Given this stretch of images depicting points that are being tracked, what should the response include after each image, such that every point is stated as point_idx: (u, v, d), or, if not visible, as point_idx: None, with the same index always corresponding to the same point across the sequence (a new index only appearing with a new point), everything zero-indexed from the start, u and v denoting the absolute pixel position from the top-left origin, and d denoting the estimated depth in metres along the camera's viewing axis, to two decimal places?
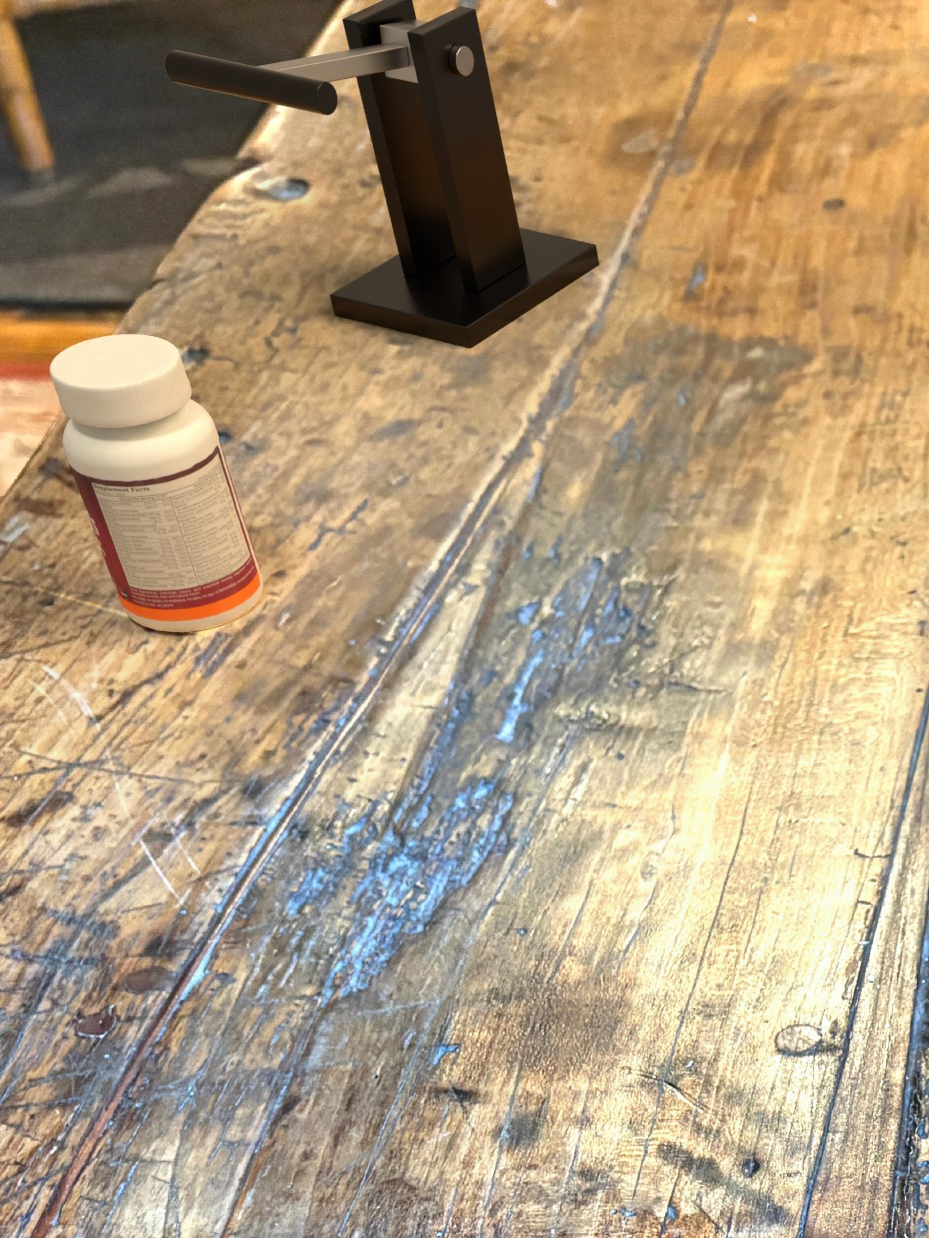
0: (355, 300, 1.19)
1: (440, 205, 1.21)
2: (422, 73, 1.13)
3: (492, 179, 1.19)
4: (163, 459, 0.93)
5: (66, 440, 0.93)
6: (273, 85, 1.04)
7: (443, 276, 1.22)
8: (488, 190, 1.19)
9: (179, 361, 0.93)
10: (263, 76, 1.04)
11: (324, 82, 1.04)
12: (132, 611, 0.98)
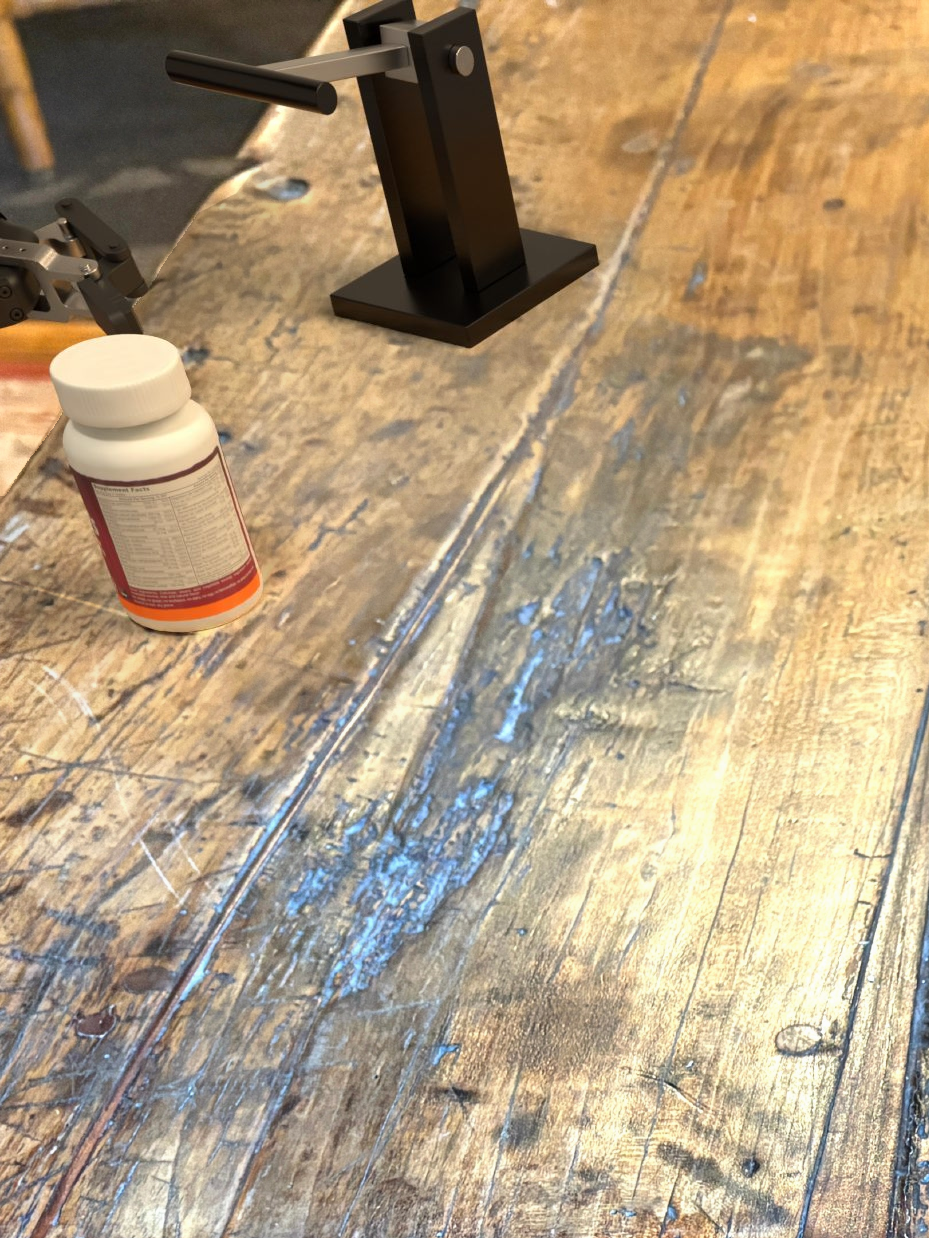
0: (355, 300, 1.19)
1: (440, 205, 1.21)
2: (422, 73, 1.13)
3: (492, 179, 1.19)
4: (163, 459, 0.93)
5: (66, 440, 0.93)
6: (273, 85, 1.04)
7: (443, 276, 1.22)
8: (488, 190, 1.19)
9: (179, 361, 0.93)
10: (263, 76, 1.04)
11: (324, 82, 1.04)
12: (132, 611, 0.98)
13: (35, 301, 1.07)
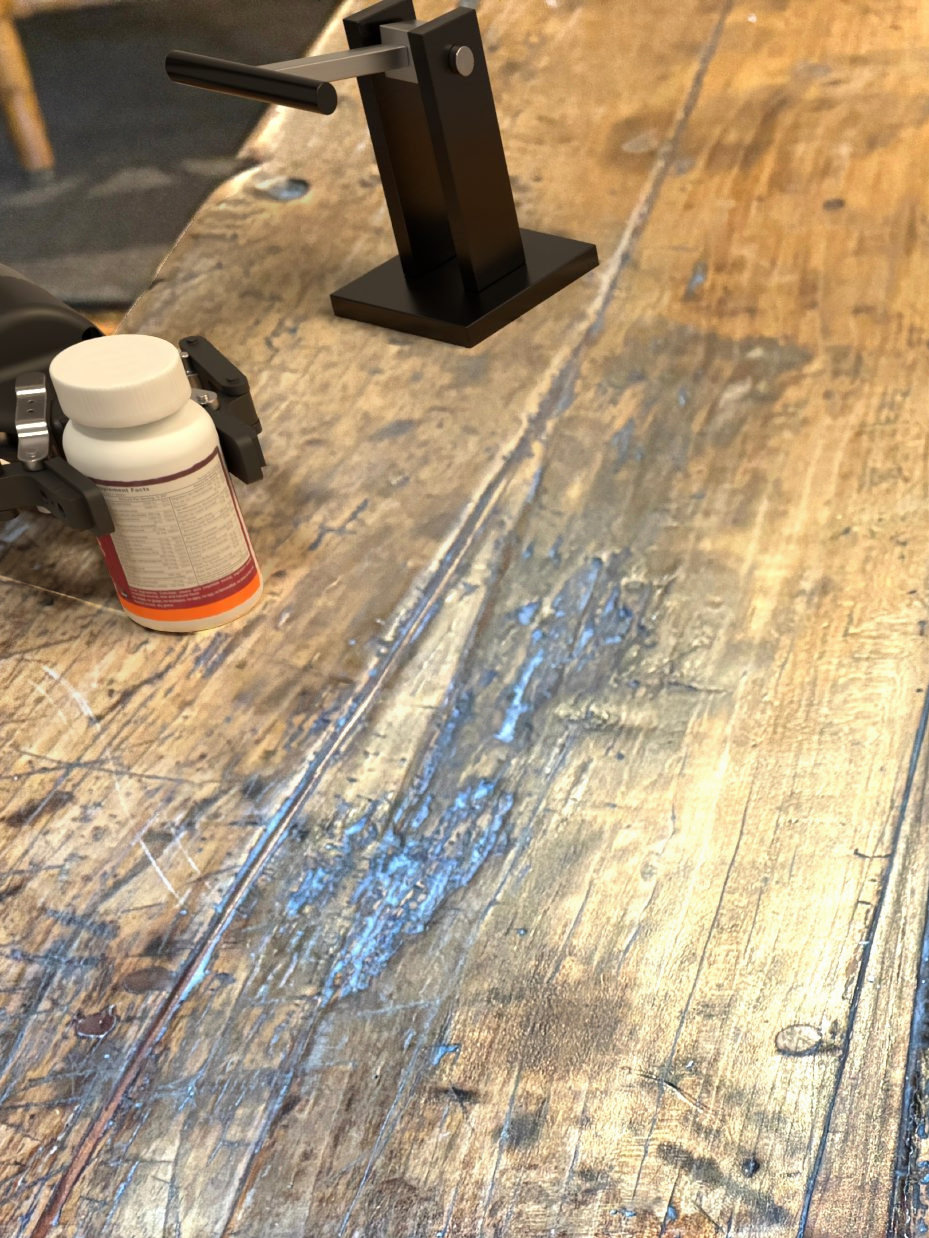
0: (355, 300, 1.19)
1: (440, 205, 1.21)
2: (422, 73, 1.13)
3: (492, 179, 1.19)
4: (163, 459, 0.93)
5: (66, 440, 0.93)
6: (273, 85, 1.04)
7: (443, 276, 1.22)
8: (488, 190, 1.19)
9: (179, 361, 0.93)
10: (263, 76, 1.04)
11: (324, 82, 1.04)
12: (132, 611, 0.98)
13: None
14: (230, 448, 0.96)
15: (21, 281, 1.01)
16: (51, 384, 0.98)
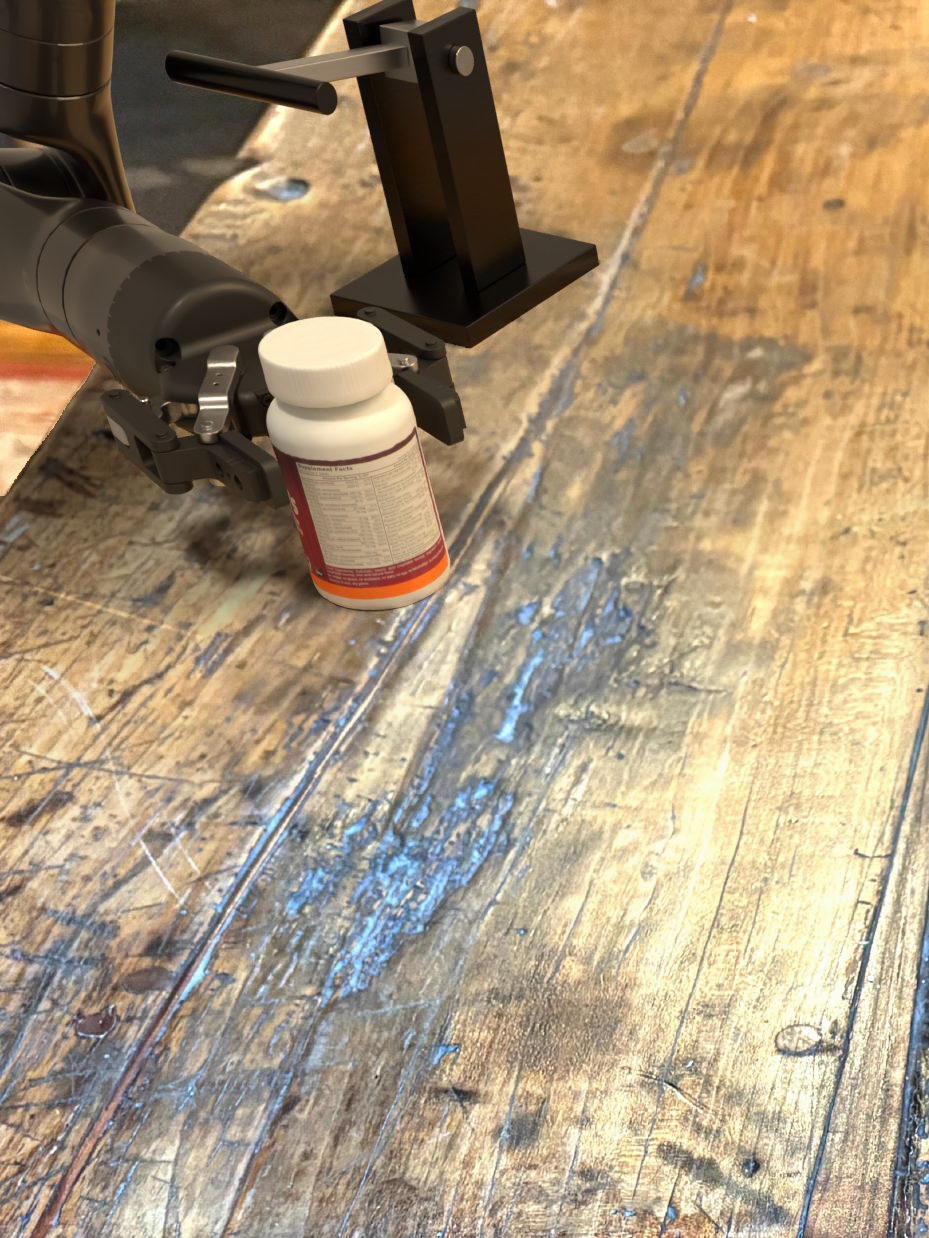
0: (355, 300, 1.19)
1: (440, 205, 1.21)
2: (422, 73, 1.13)
3: (492, 179, 1.19)
4: (367, 438, 0.95)
5: (271, 420, 0.95)
6: (273, 85, 1.04)
7: (443, 276, 1.22)
8: (488, 190, 1.19)
9: (383, 343, 0.94)
10: (263, 76, 1.04)
11: (324, 82, 1.04)
12: (326, 589, 1.00)
13: None
14: (433, 410, 0.98)
15: (208, 256, 1.02)
16: (242, 357, 1.00)
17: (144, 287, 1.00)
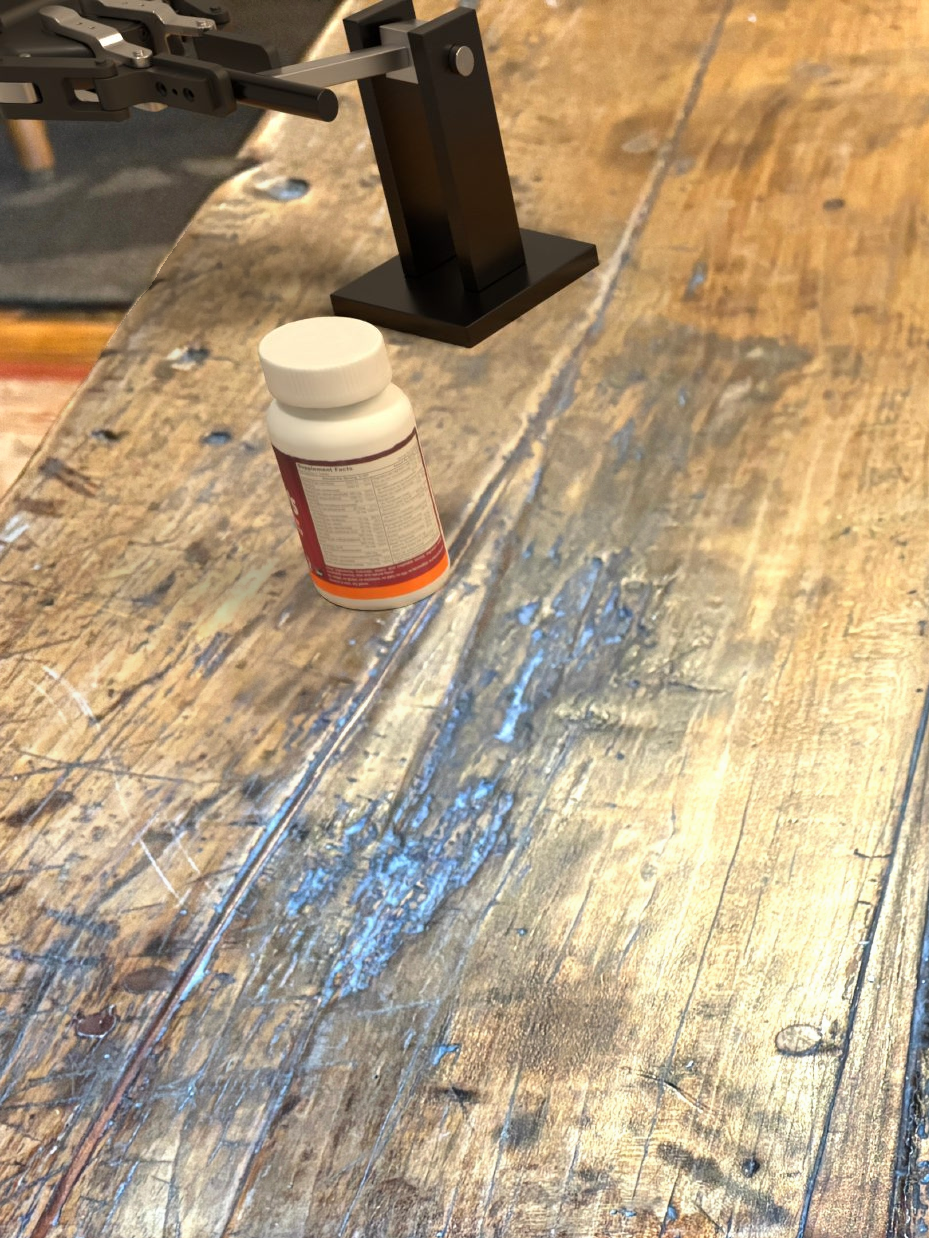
0: (355, 300, 1.19)
1: (440, 205, 1.21)
2: (422, 73, 1.13)
3: (492, 179, 1.19)
4: (366, 439, 0.95)
5: (271, 421, 0.95)
6: (274, 93, 1.04)
7: (443, 276, 1.22)
8: (488, 190, 1.19)
9: (383, 343, 0.94)
10: (264, 83, 1.04)
11: (325, 89, 1.04)
12: (326, 590, 1.00)
13: None
14: (254, 58, 1.07)
15: None
16: None
17: None
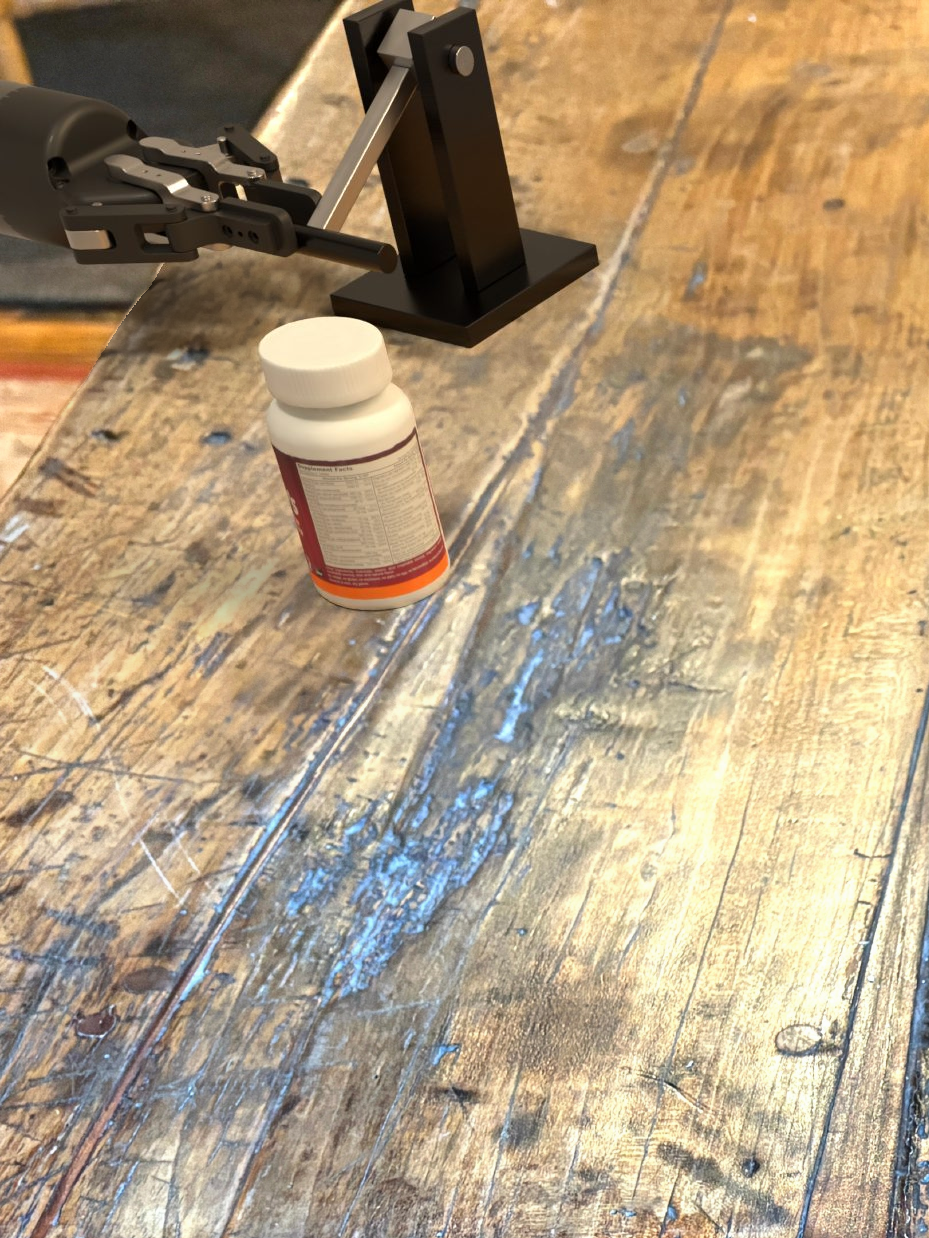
0: (355, 300, 1.19)
1: (440, 205, 1.21)
2: (422, 73, 1.13)
3: (492, 179, 1.19)
4: (367, 439, 0.95)
5: (271, 421, 0.95)
6: (339, 257, 1.11)
7: (443, 276, 1.22)
8: (488, 190, 1.19)
9: (383, 343, 0.94)
10: (326, 248, 1.11)
11: (380, 249, 1.10)
12: (326, 590, 1.00)
13: None
14: (301, 207, 1.12)
15: None
16: None
17: (15, 118, 1.12)
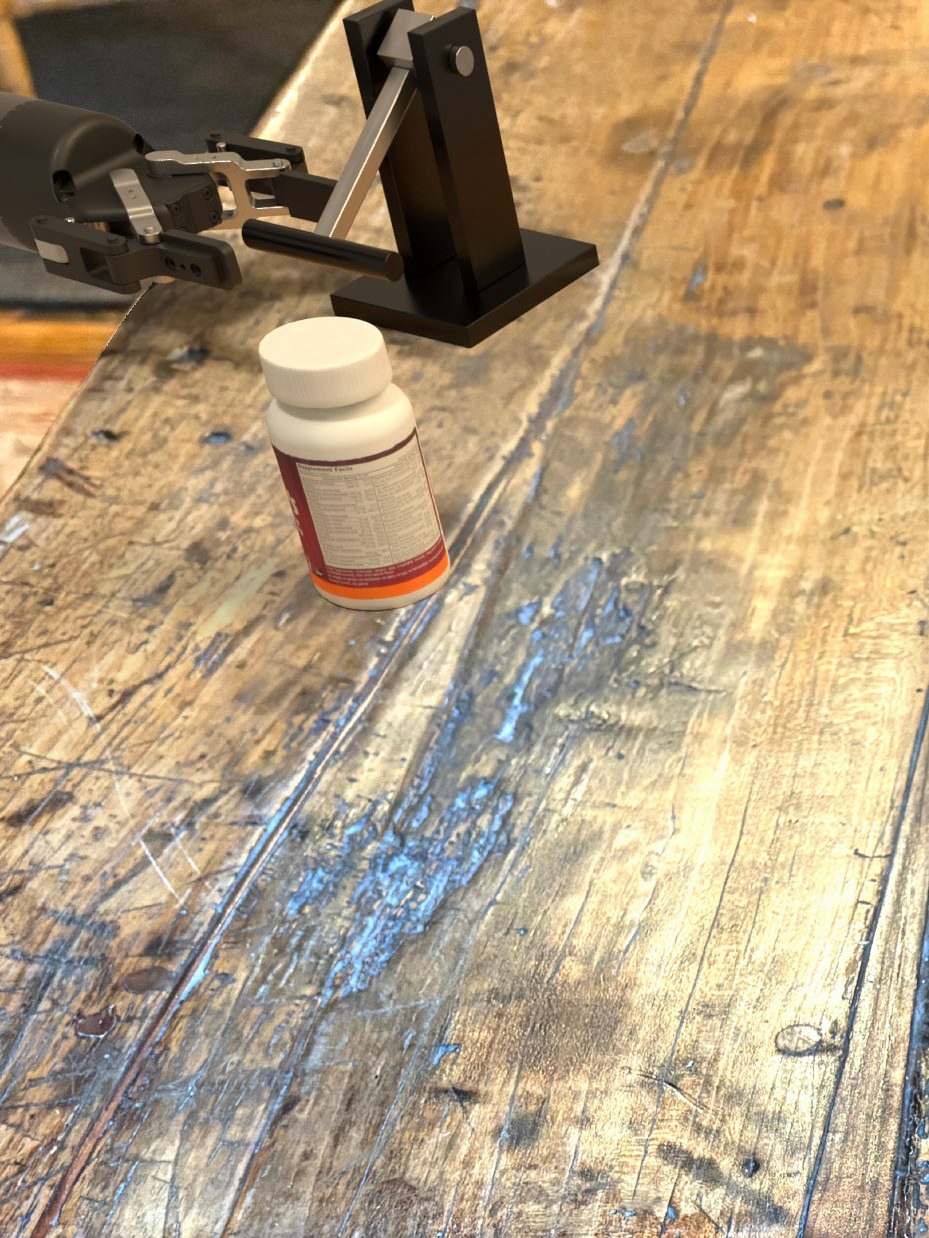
0: (355, 300, 1.19)
1: (440, 205, 1.21)
2: (422, 73, 1.13)
3: (492, 179, 1.19)
4: (367, 439, 0.95)
5: (271, 421, 0.95)
6: (345, 265, 1.12)
7: (443, 276, 1.22)
8: (488, 190, 1.19)
9: (383, 343, 0.94)
10: (333, 256, 1.12)
11: (386, 258, 1.11)
12: (326, 590, 1.00)
13: (222, 208, 1.16)
14: (325, 197, 1.15)
15: (59, 103, 1.15)
16: None
17: (22, 131, 1.12)
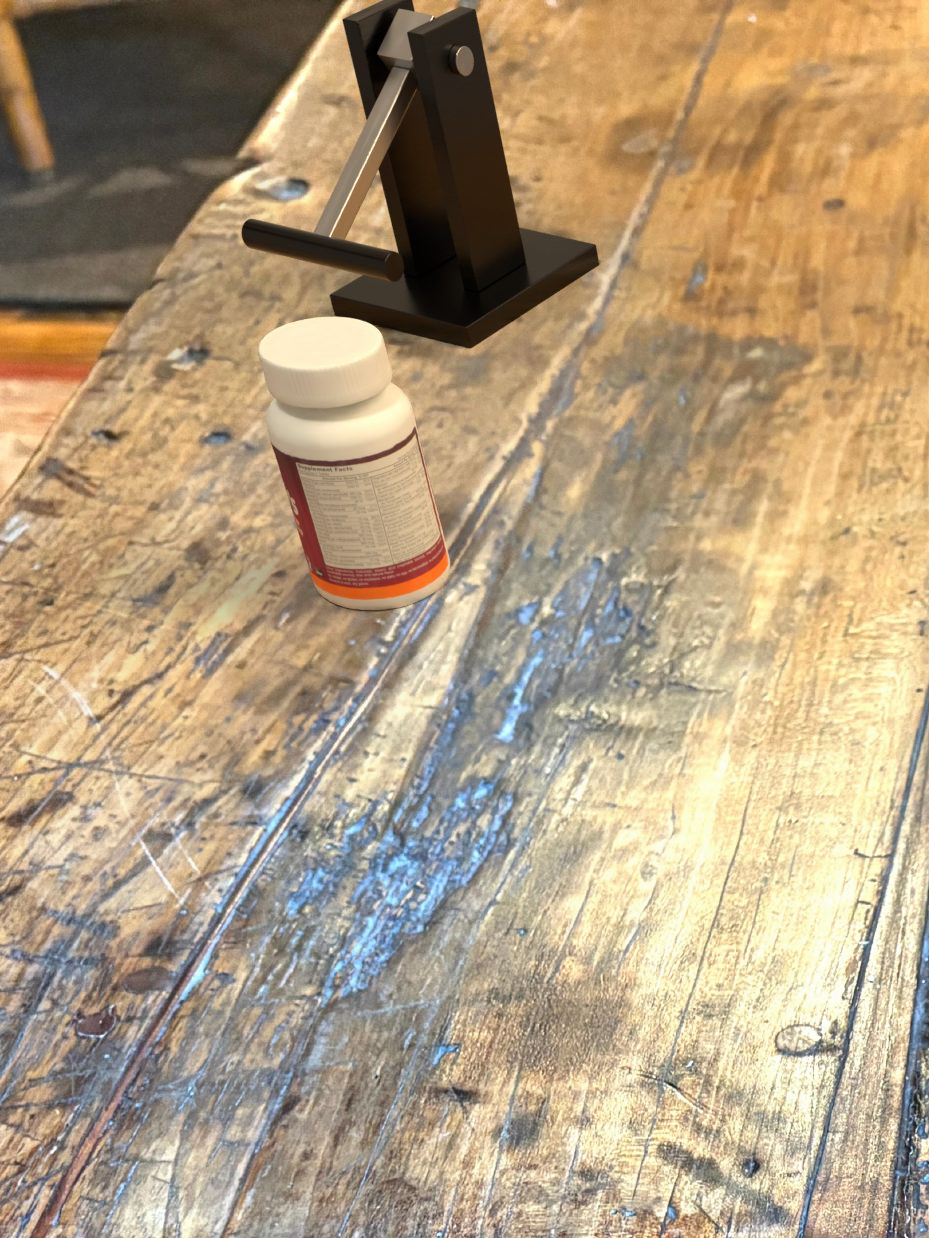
0: (355, 300, 1.19)
1: (440, 205, 1.21)
2: (422, 73, 1.13)
3: (492, 179, 1.19)
4: (366, 439, 0.95)
5: (271, 421, 0.95)
6: (345, 265, 1.12)
7: (443, 276, 1.22)
8: (488, 190, 1.19)
9: (383, 343, 0.94)
10: (333, 256, 1.12)
11: (386, 258, 1.11)
12: (326, 590, 1.00)
13: None
14: None
15: None
16: None
17: None
